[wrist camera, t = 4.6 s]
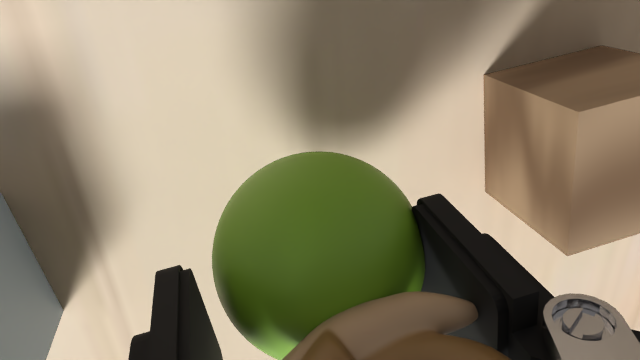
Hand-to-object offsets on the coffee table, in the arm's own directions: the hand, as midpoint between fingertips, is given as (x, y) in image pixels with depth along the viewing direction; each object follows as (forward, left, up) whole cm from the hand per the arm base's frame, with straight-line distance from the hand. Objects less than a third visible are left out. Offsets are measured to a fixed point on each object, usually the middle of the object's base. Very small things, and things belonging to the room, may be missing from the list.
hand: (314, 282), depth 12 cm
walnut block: (+1, +11, -6) cm, 13 cm away
